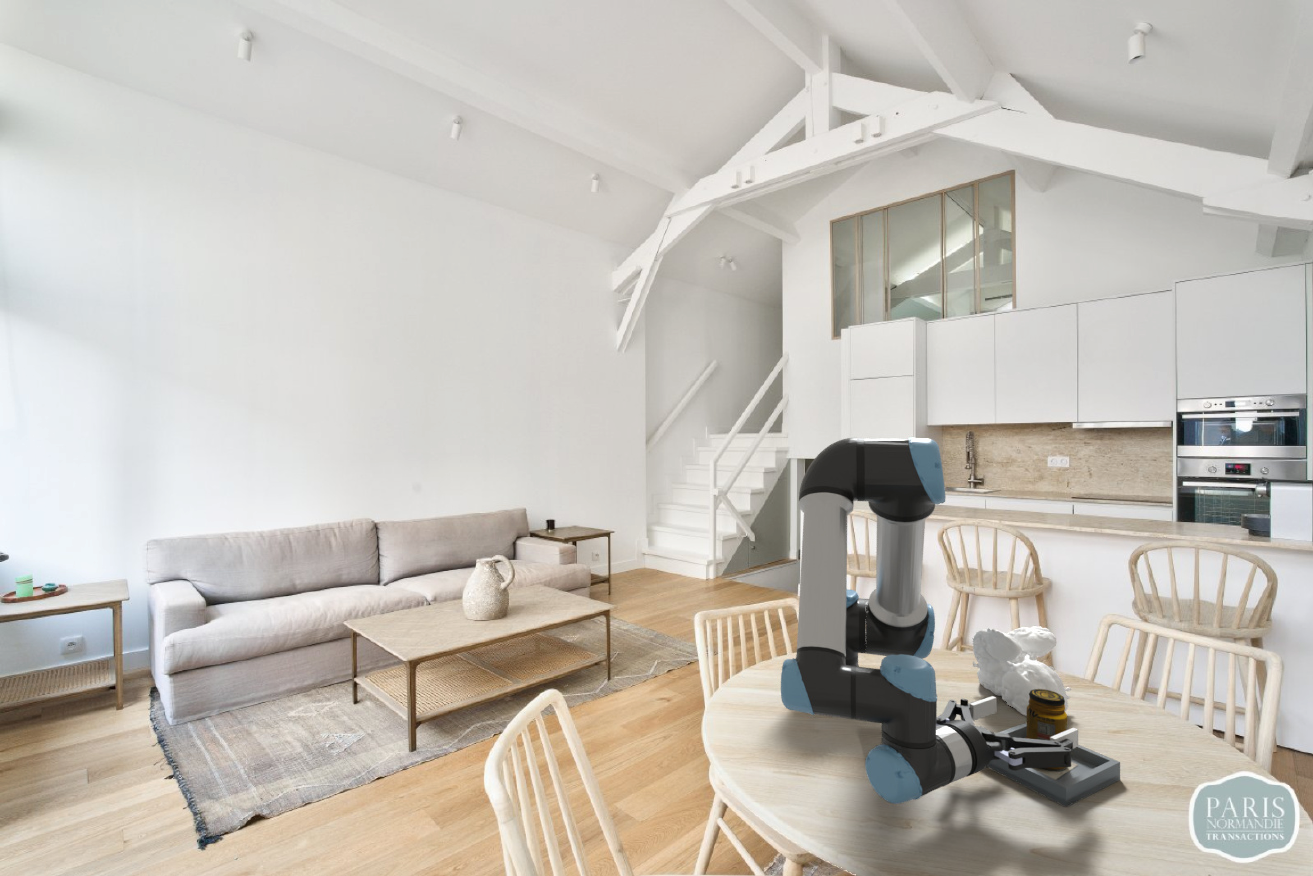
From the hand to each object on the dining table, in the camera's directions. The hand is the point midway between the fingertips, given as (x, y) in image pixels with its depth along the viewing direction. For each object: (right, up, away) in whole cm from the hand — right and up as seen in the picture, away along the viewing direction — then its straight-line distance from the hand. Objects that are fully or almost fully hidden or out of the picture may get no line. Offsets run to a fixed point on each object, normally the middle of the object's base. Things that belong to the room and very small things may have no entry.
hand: (1032, 719), depth 104 cm
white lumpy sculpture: (+15, -10, +30) cm, 35 cm away
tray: (+3, -10, +2) cm, 10 cm away
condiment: (+3, -9, +2) cm, 9 cm away
